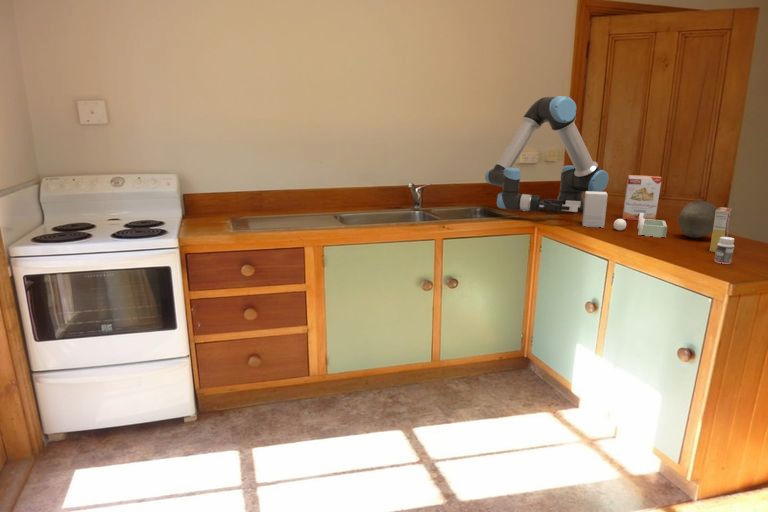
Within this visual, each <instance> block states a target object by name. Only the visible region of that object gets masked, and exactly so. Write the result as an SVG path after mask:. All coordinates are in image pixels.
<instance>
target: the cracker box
mask: <svg viewBox="0 0 768 512" xmlns="http://www.w3.org/2000/svg"><path fill="white" fill-rule="evenodd" d="M662 179H663V178H662V177H661V176H655V175H654V176H652V175H634V174H632V175H631V174H628V175H627V180H626V189H625V197H624V203H623V210H622V218H621V219H623V220H626V219H627V220H628V221H638V222H639V215H640V213H644V216H643V218H644V219H652V220H656V218H657V211H658V204H659V198H660V192H661V186H662Z"/></svg>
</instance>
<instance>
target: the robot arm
mask: <svg viewBox="0 0 768 512" xmlns="http://www.w3.org/2000/svg"><path fill="white" fill-rule="evenodd" d="M576 114H577V104H576V102H575V101H574V100H573V99H572V98H571V97H569V96H564V95H559V96H545V97H541V98H539V99H538V100H537V99H536V101H535V102H534V103H533V104H532V105H531V106H529V108H528V110H527V111H526V112H525V114H523V117H522V119H521V120H522V122H521V124H520V125H519V127H518V129H517V130H516V132H515V133H514V135H513V136H512V138H511V140H510V141H509V143H508V145H507V146H506V148H505V150H504V151H503V153H502V154H501V156H500V157H499V159H498V161H497V162H496V164H495V165H494V167H493V168H490V169H488V170H487V171H486V173H485V175H484V176H485V177H484V178H485V179H484V180H485V181H486V182H487V184H490V185H492V186H497V187H498V186H499V187H502V192H499V193H498V194H497V196H496V197H497V198H496V206H497V207H498V208H499V209H504V210H513V211H522V213H524V212H525V211H526V212H529V211H530V212H536V213H537V212H539V211H540V209H541V210H548V211H553V212H554V211H555V212H558V213H562V212H573V213H578V212H581V211H582V212H583V210H584V200H585V198H584V196H583V194H584V193H585V192H586V191H595V192H604V190H605V189H606V188H607V187H608V183H609V173H608V172H607V171H606V170H604V169H600V166H599V164H598V162H597V161H595V160H594V161H593V158H592V157H591V155H590V152H589V150H588V148H587V146H586V144H585V142H584V140H583V138H582V135H581V133H580V131H579V130H578V127H577V125H576V124H575V121H576V119H577V117H576ZM545 123H548V124H549V125H550V128H551V129H552V131H555V132H556V133H557V134H558V136H559V139H560V141H561V143H562V145H563V146H564V148H565V150H566V153H567V155H568V157H569V159H570V161H571V163H572V164H573V165H563V166H562V169H561V173H560V182H559V194H558V196H557V199H545V198H544V199H543V200H541V199H542V198H541V195H537V194H536V195H535V194H526V193H522V194H521V193H520V182H521V169H520V168H517V167H514V166H515V164H516V162H517V160H518V159H519V157H520V156H521V154H522V153H523V151H524V150H525V148H526V146H527V144H528V143H529V142H530V140H531V138H532V137H533V135H534V133H535V132H536V130H539V129H540V128H541V127H542V126H543V124H545Z"/></svg>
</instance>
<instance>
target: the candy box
mask: <svg viewBox="0 0 768 512" xmlns="http://www.w3.org/2000/svg"><path fill="white" fill-rule="evenodd" d="M732 211H733V208H732V207H722V206H721V207H718V208H717V210H716V212H715V219H714V225H713V231H712V232H711V240H710V246H709V252H710V251H711V252H710V253H716V248H717V244H718V243H719V240H720V237H729V236H728V235H729V229H730V224H731V217H732Z"/></svg>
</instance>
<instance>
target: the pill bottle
mask: <svg viewBox="0 0 768 512" xmlns="http://www.w3.org/2000/svg"><path fill="white" fill-rule="evenodd" d="M734 243H735V238H734V237H729V236H727V237H720V240H719V243H718V244H717V248H716V252H715V254H714V262H715V263H717V264H721V263H722V264H723V265H730V264H731V263H732V259H733V255H734V249H735V245H734ZM722 264H721V265H722Z"/></svg>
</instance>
